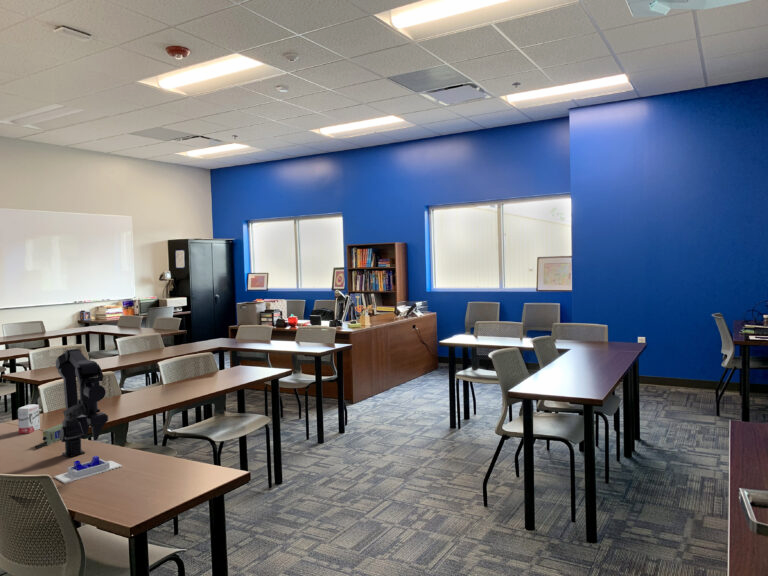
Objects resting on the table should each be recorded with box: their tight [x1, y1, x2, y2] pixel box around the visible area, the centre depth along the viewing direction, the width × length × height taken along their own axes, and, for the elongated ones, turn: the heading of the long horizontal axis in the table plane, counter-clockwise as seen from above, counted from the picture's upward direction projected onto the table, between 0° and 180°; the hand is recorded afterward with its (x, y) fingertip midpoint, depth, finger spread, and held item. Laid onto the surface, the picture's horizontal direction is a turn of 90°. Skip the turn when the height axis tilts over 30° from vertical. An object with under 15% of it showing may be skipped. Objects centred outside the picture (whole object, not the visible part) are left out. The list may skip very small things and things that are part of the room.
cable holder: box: [73, 455, 100, 471], centre depth 207 cm, size 8×4×4 cm, turn 138°
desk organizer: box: [54, 458, 123, 484], centre depth 207 cm, size 9×20×3 cm, turn 140°
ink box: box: [17, 403, 41, 435], centre depth 264 cm, size 9×5×12 cm, turn 179°
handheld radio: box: [34, 423, 62, 449], centre depth 248 cm, size 7×3×25 cm
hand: (90, 437), depth 211 cm, fingers open, 9 cm apart
